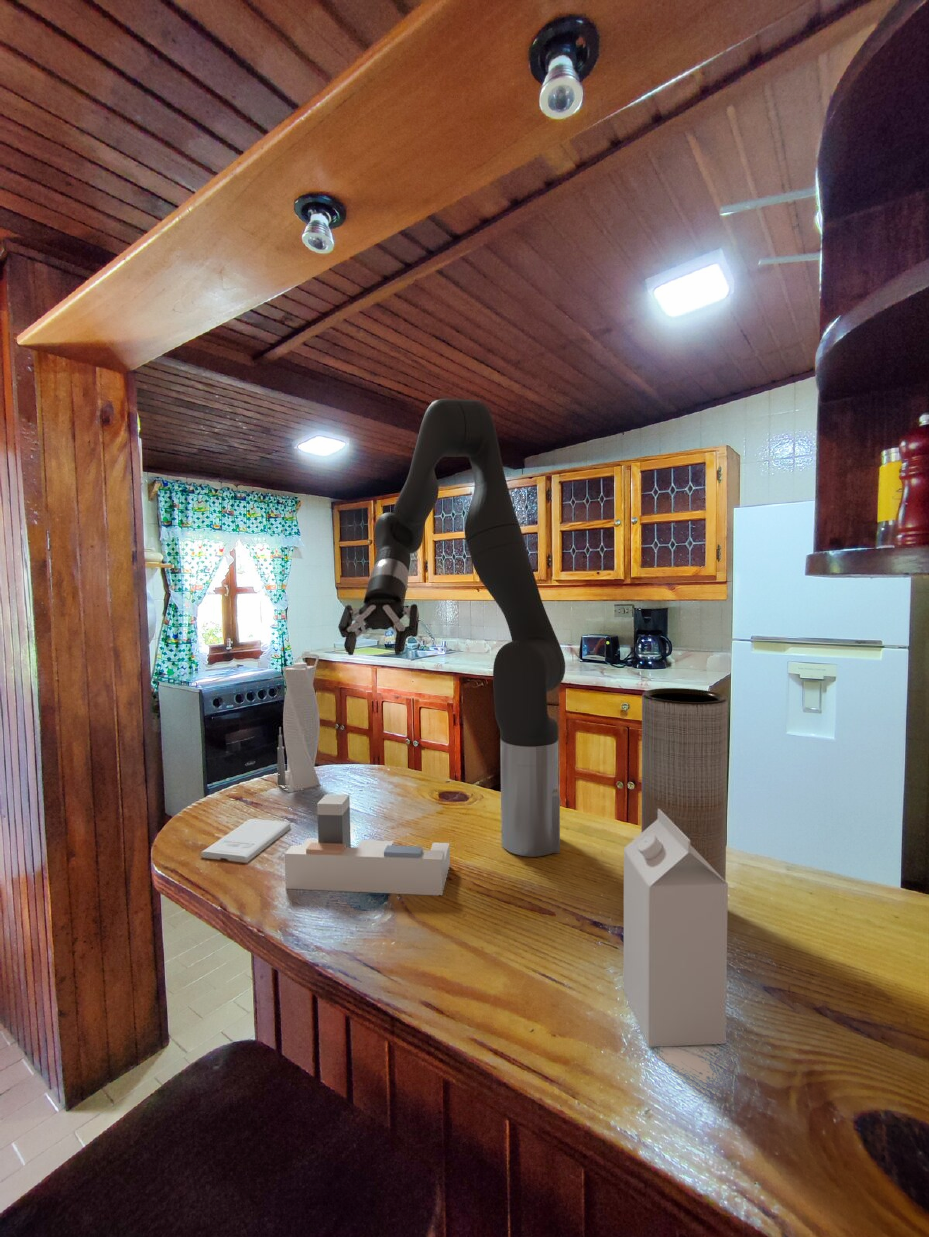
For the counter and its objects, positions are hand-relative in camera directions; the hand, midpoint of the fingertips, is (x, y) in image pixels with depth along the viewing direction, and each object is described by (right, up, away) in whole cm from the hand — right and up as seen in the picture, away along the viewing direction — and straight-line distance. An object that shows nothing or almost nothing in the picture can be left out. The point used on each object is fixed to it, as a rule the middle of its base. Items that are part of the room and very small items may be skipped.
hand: (373, 652), depth 97 cm
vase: (+44, -31, -27) cm, 60 cm away
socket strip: (+3, -31, -17) cm, 36 cm away
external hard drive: (-20, -32, -6) cm, 38 cm away
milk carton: (+36, -33, -44) cm, 65 cm away
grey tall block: (-3, -31, -16) cm, 35 cm away
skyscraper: (-19, -30, +21) cm, 41 cm away
